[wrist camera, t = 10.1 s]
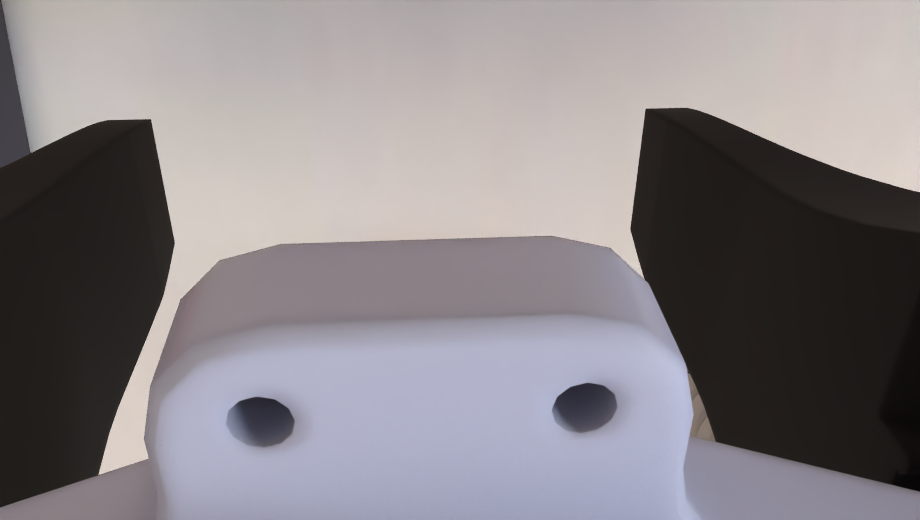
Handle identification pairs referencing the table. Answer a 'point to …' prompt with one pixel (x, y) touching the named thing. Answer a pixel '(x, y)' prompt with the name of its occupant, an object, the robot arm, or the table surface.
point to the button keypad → (10, 105)
